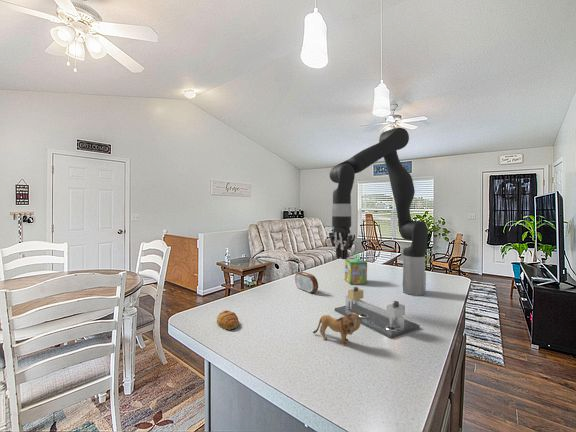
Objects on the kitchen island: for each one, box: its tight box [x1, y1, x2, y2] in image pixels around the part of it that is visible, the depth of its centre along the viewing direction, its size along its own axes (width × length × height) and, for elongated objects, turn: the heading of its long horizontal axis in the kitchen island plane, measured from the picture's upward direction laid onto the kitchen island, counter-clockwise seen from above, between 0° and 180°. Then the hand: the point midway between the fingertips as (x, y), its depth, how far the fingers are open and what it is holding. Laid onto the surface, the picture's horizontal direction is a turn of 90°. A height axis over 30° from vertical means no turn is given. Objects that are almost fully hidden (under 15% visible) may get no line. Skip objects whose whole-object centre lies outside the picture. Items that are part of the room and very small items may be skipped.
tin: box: [294, 270, 319, 294], centre depth 132 cm, size 15×3×8 cm, turn 34°
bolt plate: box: [334, 303, 421, 339], centre depth 99 cm, size 14×26×1 cm, turn 30°
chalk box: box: [344, 253, 368, 285], centre depth 147 cm, size 9×9×15 cm
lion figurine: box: [312, 313, 361, 347], centre depth 83 cm, size 15×5×9 cm, turn 63°
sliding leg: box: [347, 286, 364, 309], centre depth 105 cm, size 5×3×8 cm, turn 120°
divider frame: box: [345, 295, 406, 331], centre depth 98 cm, size 5×25×8 cm, turn 30°
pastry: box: [216, 310, 239, 331], centre depth 94 cm, size 9×7×4 cm
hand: (341, 258), depth 111 cm, fingers open, 2 cm apart
